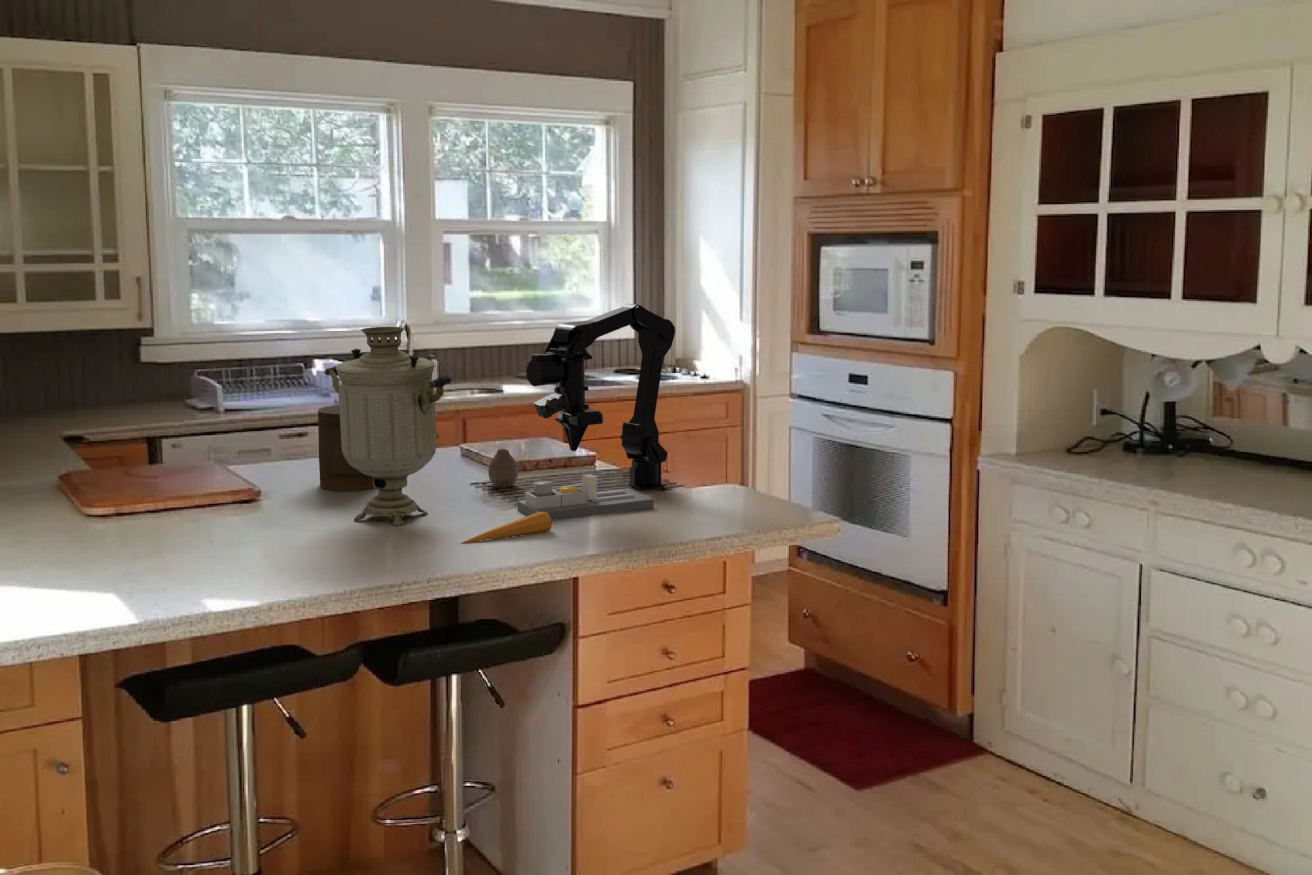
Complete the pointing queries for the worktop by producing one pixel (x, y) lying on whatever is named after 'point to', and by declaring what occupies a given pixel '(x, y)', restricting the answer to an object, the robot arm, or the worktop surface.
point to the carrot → (518, 527)
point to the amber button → (568, 489)
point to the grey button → (542, 488)
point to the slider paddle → (590, 486)
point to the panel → (584, 503)
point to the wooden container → (336, 456)
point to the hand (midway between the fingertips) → (573, 450)
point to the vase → (503, 469)
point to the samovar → (387, 418)
